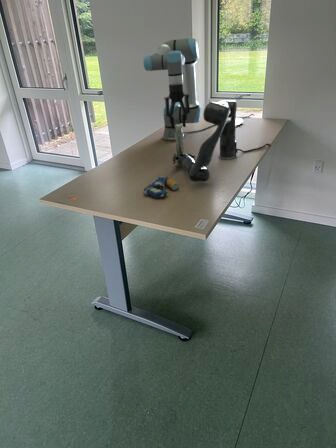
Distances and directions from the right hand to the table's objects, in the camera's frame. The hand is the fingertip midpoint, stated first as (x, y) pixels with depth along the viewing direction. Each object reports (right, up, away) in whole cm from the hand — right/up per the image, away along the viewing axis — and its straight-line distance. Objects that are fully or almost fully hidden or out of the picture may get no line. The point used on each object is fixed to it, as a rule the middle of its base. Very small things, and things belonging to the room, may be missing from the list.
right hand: (178, 154), depth 199 cm
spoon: (+45, +34, +61) cm, 83 cm away
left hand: (-1, +13, -11) cm, 17 cm away
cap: (-1, +14, -12) cm, 18 cm away
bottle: (+1, -6, +1) cm, 7 cm away
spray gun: (-9, -24, -27) cm, 37 cm away
